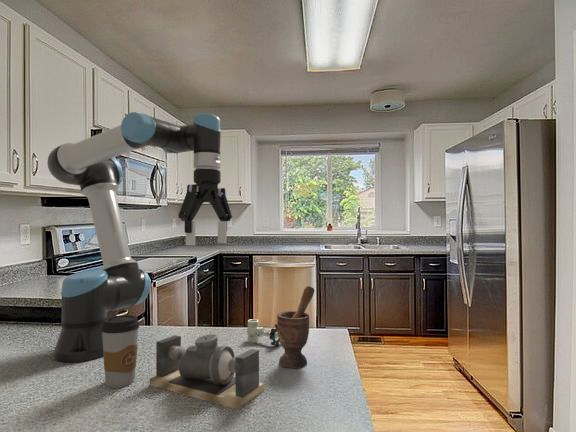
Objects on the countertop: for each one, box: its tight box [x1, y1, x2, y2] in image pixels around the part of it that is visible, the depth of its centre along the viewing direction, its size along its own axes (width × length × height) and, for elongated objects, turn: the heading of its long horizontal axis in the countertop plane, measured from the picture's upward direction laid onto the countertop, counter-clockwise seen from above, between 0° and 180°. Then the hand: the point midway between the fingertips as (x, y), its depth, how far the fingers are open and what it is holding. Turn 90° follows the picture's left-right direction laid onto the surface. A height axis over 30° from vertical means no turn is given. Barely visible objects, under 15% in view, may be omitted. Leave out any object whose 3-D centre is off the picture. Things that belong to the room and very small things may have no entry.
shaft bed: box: [149, 335, 265, 410], centre depth 87 cm, size 25×10×10 cm, turn 62°
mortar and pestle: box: [276, 285, 315, 369], centre depth 103 cm, size 12×9×20 cm
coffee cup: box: [101, 314, 140, 389], centre depth 90 cm, size 8×8×15 cm
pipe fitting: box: [179, 334, 236, 385], centre depth 87 cm, size 12×8×10 cm
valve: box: [246, 318, 280, 347], centre depth 120 cm, size 7×7×12 cm
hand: (207, 244), depth 108 cm, fingers open, 13 cm apart
